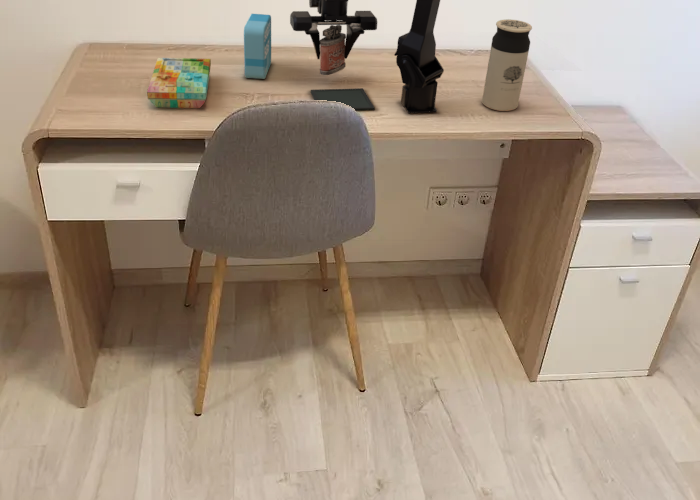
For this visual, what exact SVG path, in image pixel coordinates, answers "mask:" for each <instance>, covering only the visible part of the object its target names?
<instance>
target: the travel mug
mask: <svg viewBox="0 0 700 500" xmlns="http://www.w3.org/2000/svg"><path fill="white" fill-rule="evenodd" d="M495 25H496V32H495V33H494V35H493V36H492V40H491V45H490V49H489V50H490V51H489V56H488V62H487V68H486V75H485V81H484V86H483V92H482V93H483V94H482V97H481V98H482V99H481V103H482V104H483V105H484V106H485V107H487V108H488V109H491V110H494V111H498V112H499V111H500V112H509V111H514V110H516V109H517V108H518V107H519V102H520V97H521V92H522V88H523V82H524V77H525V72H526V66H527V61H528V56H529V52H530V46H531V39H530V36H529V35H530V32H531V30H532V29H533V26H532V25H531V24H530V23H528V22H526V21H523V20H519V19H509V18H508V19H500V20H498V21H497V22H496V23H495Z"/></svg>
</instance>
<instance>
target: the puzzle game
mask: <svg viewBox="0 0 700 500" xmlns="http://www.w3.org/2000/svg"><path fill="white" fill-rule="evenodd" d="M211 67H212V59H211V58H188V57H187V58H186V57H157V59H156V62H155V66H154V69H153V72H152V75H151V78H150V81H149V85H148V88H147V91H146V95H147V99H148V100H149V102H150V103H151V104H152V105H153V106H154V107H156V108H170V109H171V108H172V109H173V108H174V109H179V108H181V109H184V108H185V109H200V108H201V107H202V106H204V103H205V102H206V100H207V96H208V89H209V88H208V87H209V80H210V74H211Z"/></svg>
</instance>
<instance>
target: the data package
mask: <svg viewBox="0 0 700 500" xmlns="http://www.w3.org/2000/svg"><path fill="white" fill-rule="evenodd" d="M243 58H244V62H243V63H244V67H243V68H244V77H245V78H246V79H256V80H257V79H258V80H265V79H266V77H267V75H268V72H269V70H270V67H271V65H272V16H271V14H262V13H261V14H260V13H251V14H250V15H249V17H248V19H247V21H246V23H245V25H244V28H243Z"/></svg>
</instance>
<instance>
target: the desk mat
mask: <svg viewBox="0 0 700 500" xmlns="http://www.w3.org/2000/svg"><path fill="white" fill-rule="evenodd" d="M310 94H311V96H312V98H313V101H314V100H327V101H336V102H341V103H344V104H346V105H349V106H351V107H352V108H354V109H355V110H356V111H355V112H361V111H363V112H365V111H375V109H376V107H375V105H374V104H373V103H372V101H371V99H370V97H369V96H368V94H367V93H366V90H364V88H363V87H359V88H358V87H357V88H324V89H323V88H322V89H310Z"/></svg>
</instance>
